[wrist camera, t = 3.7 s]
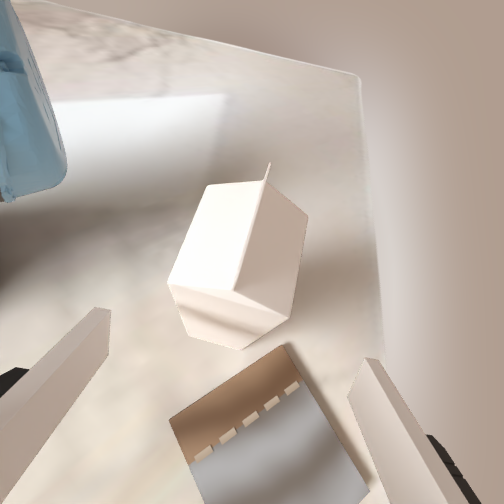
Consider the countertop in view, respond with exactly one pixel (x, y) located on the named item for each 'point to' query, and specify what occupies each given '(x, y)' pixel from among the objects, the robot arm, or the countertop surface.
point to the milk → (239, 263)
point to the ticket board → (266, 441)
